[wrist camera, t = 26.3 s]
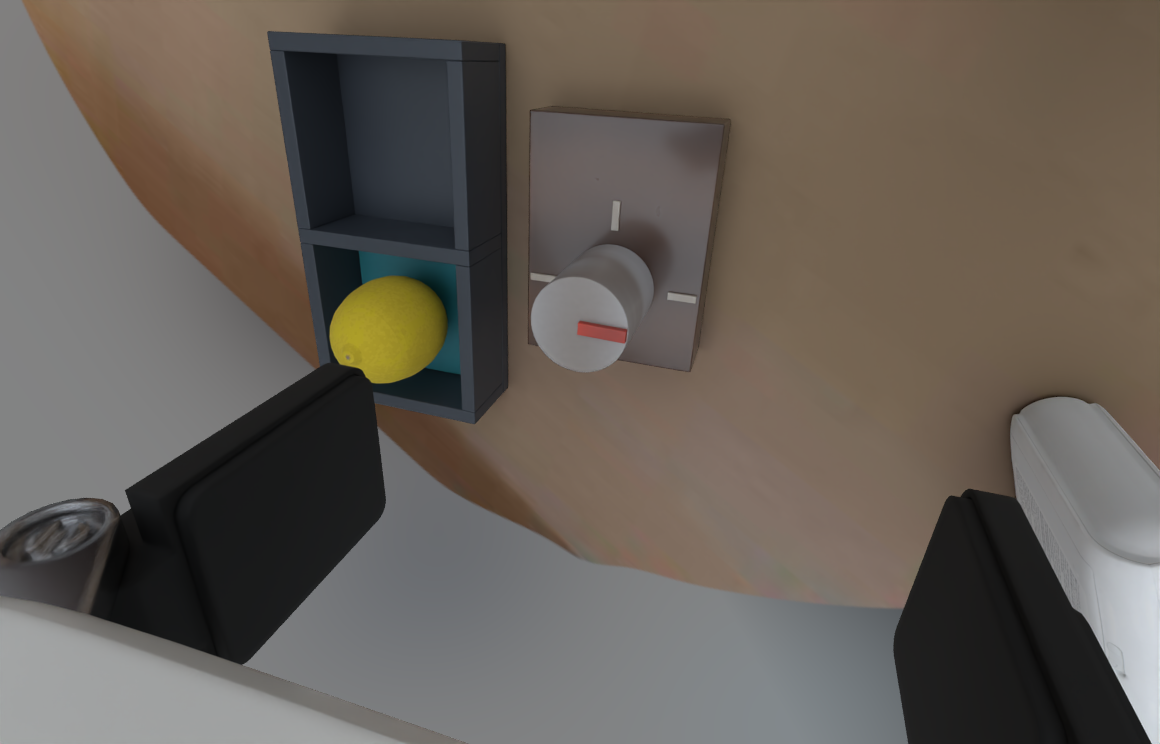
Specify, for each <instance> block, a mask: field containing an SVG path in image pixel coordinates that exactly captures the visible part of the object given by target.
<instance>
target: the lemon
mask: <svg viewBox="0 0 1160 744" xmlns="http://www.w3.org/2000/svg"><path fill="white" fill-rule="evenodd" d="M447 328H448V319H447V314H446V310H445V308H444V305H443V303H442V301H441V300H440V298H439V297H438V295H437V294H436V293H435V292H434V291H433V290H432V289H431V288H430V287H429V286H428V285H426V284H424V283H422V282H421V281H419V280H417V279H413V278H410V277H407V276H385V277H381V278H378V279H374V280H371V281H369V282H367V283H365V284H363V285H362V286H360V287H359V288H357V289H356V290H354V291H353V292H352V293H350V294H349V295H348V296H347V297H346V298H345V300H344V301H343V302H342V303H341V305H340V306H339V307H338V309H337V310H336V311H335V313H334V316H333V319H332V321H331V325H330V336H329V337H330V343H331V348H332V351H333V353H334V356H335V357H336V359H337V360H338V362H339V363H340V364H341V365H346V366H351V367H356V368H359V369H361V370H362V371H363V372H364V374H365V376H366V378H368V379H369V380H370V381H371V383H392V382H396V381H399V380H402V379H405V378H408V377H410V376H412V375H414V374H416V373H418V372H419V371H421V370H422V369H423V368H425V367H426V366H427V365H429V364H430V363H431V362H432V361H433V360H434V359H435V357H436V356H437V354H438V353H439V351H440V350H441V348H442V347H443V345H444V342H445V338H446V335H447Z"/></svg>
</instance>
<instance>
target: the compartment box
mask: <svg viewBox="0 0 1160 744" xmlns="http://www.w3.org/2000/svg"><path fill="white" fill-rule="evenodd" d="M267 34H268V40H269V47H270V50H271V51H270V53H271V60H272V66H273V72H274V79H275V85H276V91H277V98H278V104H279V110H280V117H281V123H282V129H283V136H284V142H285V148H286V154H287V161H288V167H289V173H290V180H291V186H292V192H293V199H294V205H295V211H296V218H297V224H298V230H299V236H300V242H302V243H301V249H302V255H303V261H304V268H305V274H306V280H307V287H308V293H309V299H310V306H311V312H312V318H313V325H314V331H315V337H316V344H317V350H318V356H319V363H320V367H321V366H322V365H324V364H327V363H336V364H340V363H339V362H338V360H337V359H336V357H335V356H334V353H333V351H332V348H331V343H330V337H329V336H330V325H331V321H332V319H333V316H334V313H335V311H336V310H337V309H338V307H339V306H340V305H341V303H342V302H343V301H344V300H345V298H346V297H347V296H348V295H349V294H350V293H352V292H353V291H354V290H356V289H357V288H359V287H360V286H362V285H363V284H365V283H367V282H369V281H371V280H374V279H378V278H381V277H385V276H407V277H410V278H413V279H417V280H419V281H421V282H422V283H424V284H426V285H428V286H429V287H430V288H431V289H432V290H433V291H434V292H435V293H436V294H437V295H438V297H439V298H440V300H441V301H442V303H443V305H444V308H445V310H446V314H447V319H448V328H447V335H446V338H445V342H444V345H443V347H442V348H441V350H440V351H439V353H438V354H437V356H436V357H435V359H434V360H433V361H432V362H431V363H430V364H429V365H427V366H426V367H425V368H423V369H422V370H421V371H419V372H418V373H416V374H414V375H412V376H410V377H408V378H405V379H402V380H399V381H396V382H392V383H372V387H373V395H374V403H377V404H382V405H386V406H391V407H396V408H401V409H405V410H410V411H415V412H420V413H424V414H429V415H434V416H438V417H443V418H448V419H453V420H457V421H462V422H467V423H471V424H476V422H477V421H478V420H479V419H480V418H481V417H482V416H483V415H484V414H485V412H486V411H487V410H488V409H489V408H490V407H491V406H492V405H493V403H494V402H495V401H496V400H497V399H498V398H499V397H500V396H501V395H502V393H503V392H504V391H505V390H506V389H507V388H508V335H507V201H506V68H505V44H503V43H490V42H476V41H463V40H443V39H422V38H401V37H380V36H359V35H338V34H316V33H295V32H274V31H268V32H267Z"/></svg>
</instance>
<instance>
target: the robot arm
mask: <svg viewBox="0 0 1160 744" xmlns="http://www.w3.org/2000/svg"><path fill="white" fill-rule="evenodd" d="M125 492H126V495H127V498H128V500H129V503H130V506H131V509H130V510H128V511H127V512H125V513H124V514H122V515H121V516H120V513H119V511H118V509H117V508H116V507H115V505H114V504H113V503H111V502H108V501H106V500H103V499H95V498H80V499H70V500H66V501H62V502H57V503H53V504H50V505H47V506H44V507H41V508H39V509H36V510H34V511H31V512H29V513H27V514H25V515H23V516H21V517H19V518H17V519H15V520H14V521H12V522H11V523H9V524H8V525H6V526H5V527H4V528H2V529H1V530H0V744H468V743H465V742H462V741H459V740H456V739H454V738H451V737H448V736H445V735H442V734H439V733H436V732H434V731H431V730H428V729H425V728H422V727H419V726H416V725H414V724H411V723H408V722H405V721H402V720H399V719H396V718H393V717H390V716H388V715H385V714H382V713H379V712H376V711H373V710H370V709H368V708H365V707H362V706H359V705H356V704H353V703H350V702H347V701H345V700H342V699H339V698H336V697H333V696H330V695H328V694H325V693H322V692H319V691H316V690H313V689H310V688H307V687H304V686H301V685H298V684H295V683H292V682H290V681H286V680H284V679H281V678H278V677H275V676H272V675H269V674H266V673H263V672H260V671H258V670H255V669H252V668H249V667H246V666H243V665H242V664H244V663H246V662H247V661H248V660H249V659H251V657H253V655H254V654H255V653H256V652H257V651H258V650H259V649H260V648H261V647H262V646H263V645H264V644H265V642H266V641H267V640H268V639H269V638H270V637H271V636H272V635H273V634H274V632H276V630H277V629H278V628H279V627H280V626H281V625H282V624H283V623H284V622H285V621H286V620H287V619H288V617H289V616H290V615H291V614H292V613H293V612H294V611H295V610H296V609H297V608H298V607H299V605H300V604H301V603H302V602H303V601H304V600H305V599H306V598H307V597H308V596H309V595H310V593H311V592H312V591H313V590H314V589H315V588H316V587H317V586H318V585H319V584H320V583H321V582H322V581H323V579H324V578H325V577H326V576H327V575H328V574H329V573H330V572H331V571H332V570H333V569H334V567H335V566H336V565H337V564H338V563H339V562H340V561H341V560H342V559H343V558H344V557H345V556H346V554H347V553H348V552H349V551H350V550H351V549H352V548H353V547H354V546H355V545H356V544H357V543H358V541H359V540H360V539H361V538H362V537H363V536H364V535H365V534H366V533H367V532H368V531H369V529H370V528H371V527H372V526H373V525H374V524H375V523H376V522H377V521H378V520H379V518H380V517H381V515H382V513H383V511H384V508H385V503H386V496H385V489H384V480H383V471H382V463H381V454H380V446H379V437H378V429H377V420H376V412H375V403H374V395H373V387H372V383H371V381H370V380H369V379H368V378H366V376H365V374H364V372H363V371H362V370H361V369H359V368H356V367H351V366H346V365H341V364H336V363H327V364H324V365H322V366H321V367H319V368H318V369H316V370H314V371H313V372H311V373H310V374H308V375H307V376H305V377H303V378H302V379H300V380H299V381H297V382H295V383H294V384H293V385H291V386H289V387H288V388H286V389H284V390H283V391H281V392H280V393H278V394H277V395H275V396H273V397H272V398H270V399H269V400H267V401H266V402H264V403H262V404H261V405H259V406H258V407H256V408H254V409H253V410H252V411H250V412H248V413H247V414H245V415H243V416H242V417H240V418H239V419H237V420H235V421H234V422H232V423H231V424H229V425H228V426H226V427H224V428H223V429H221V430H220V431H218V432H216V433H215V434H213V435H212V436H210V437H209V438H207V439H205V440H204V441H202V442H201V443H199V444H198V445H196V446H194V447H193V448H191V449H190V450H188V451H186V452H185V453H184V454H182V455H180V456H179V457H177V458H175V459H174V460H172V461H171V462H169V463H167V464H166V465H164V466H163V467H161V468H160V469H158V470H157V471H155V472H153V473H152V474H150V475H148V476H147V477H146V478H144V479H142V480H141V481H139V482H137V483H136V484H134V485H133V486H131V487H130V488H128V489H126V490H125ZM894 659H895V665H896V671H897V677H898V683H899V689H900V695H901V701H902V708H903V714H904V720H905V726H906V731H907V738H908V744H1152V743H1151V741H1150V739H1149V737H1148V735H1147V734H1146V732H1145V730H1144V728H1143V726H1142V724H1141V722H1140V720H1139V718H1138V716H1137V714H1136V713H1135V711H1134V709H1133V707H1132V705H1131V703H1130V701H1129V699H1128V697H1127V695H1126V693H1125V691H1124V690H1123V688H1122V686H1121V684H1120V682H1119V680H1118V678H1117V676H1116V674H1115V672H1114V670H1113V669H1112V667H1111V665H1110V663H1109V661H1108V659H1107V657H1106V655H1105V653H1104V651H1103V649H1102V647H1101V646H1100V644H1099V642H1098V640H1097V638H1096V636H1095V634H1094V632H1093V630H1092V628H1091V626H1090V625H1089V623H1088V622H1087V620H1086V619H1085V617H1084V616H1083V615H1082V613H1080V612H1079V611H1077V610H1075V609H1074V608H1073V607H1072V605H1071V603H1070V601H1069V599H1068V597H1067V596H1066V594H1065V592H1064V590H1063V588H1062V586H1061V584H1060V582H1059V580H1058V578H1057V576H1056V574H1055V572H1054V570H1053V568H1052V566H1051V564H1050V562H1049V560H1048V558H1047V556H1046V554H1045V552H1044V550H1043V548H1042V546H1041V544H1040V542H1039V540H1038V538H1037V536H1036V535H1035V533H1034V531H1033V529H1032V527H1031V525H1030V523H1029V521H1028V519H1027V517H1026V515H1025V513H1024V511H1023V509H1022V507H1021V505H1020V503H1019V502H1018V500H1017V499H1016V498H1013V497H1009V496H1004V495H999V494H994V493H989V492H984V491H979V490H973V489H968V490H965V492H964V493H963V494H962V496H961V497H956V496H949V497H948V498H947V500H946V502H945V504H944V506H943V509H942V511H941V514H940V516H939V519H938V522H937V524H936V527H935V529H934V532H933V535H932V537H931V540H930V542H929V545H928V547H927V550H926V553H925V555H924V558H923V560H922V563H921V566H920V568H919V571H918V573H917V576H916V579H915V581H914V584H913V586H912V589H911V591H910V594H909V597H908V599H907V602H906V604H905V607H904V610H903V612H902V615H901V618H900V620H899V623H898V625H897V628H896V631H895V636H894Z"/></svg>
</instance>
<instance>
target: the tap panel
mask: <svg viewBox="0 0 1160 744" xmlns="http://www.w3.org/2000/svg"><path fill="white" fill-rule="evenodd" d="M730 124H731V120H730V119H721V118H707V117H693V116H680V115H666V114H652V113H639V112H625V111H611V110H598V109H584V108H570V107H556V106H550V107H544V108H538V109H532V110H530V168H529V284H528V344H529V345H535V346H539V345H538V343H537V342H536V339H535V337H534V334H533V331H532V326H531V311H532V307H533V304H534V301H535V299H536V297H537V295H538V294H539V293H540V291H541V290H542V289H543V288H544V287H545V286H546V285H548V284H549V283H550V282H551V281H552V280H553V279H554V278H555V277H557V276H558V275H559V274H560V273H561V272H562V271H563V270H565V269H566V268H567V267H568V266H569V265H570V264H571V263H573V262H574V261H575V260H576V259H577V258H578V257H579V256H581V255H582V254H583V253H584V252H585V251H587V250H589V249H591V248H593V247H595V246H599V245H605V244H611V245H618V246H622V247H625V248H627V249H629V250H631V251H632V252H634V253H635V254H637V255H638V256H639V257H640V258H641V259H642V260H643V261H644V262H645V264H646V265H647V267H648V269H649V271H650V273H651V276H652V279H653V284H654V295H653V300H652V303H651V306H650V308H649V310H648V311H647V313H646V315H645V316H644V318H643V320H642V321H641V323H640V325H639V326H638V328H637V329H636V331H635V333H634V334H633V336H632V338H631V339H630V341H629V343H628V344H627V346H626V348H625V349H624V351H623V352H622V354H621V355H620V357H619V358H618V359H617V360H622V361H627V362H633V363H639V364H645V365H650V366H656V367H662V368H668V369H674V370H679V371H685V372H690V371H691V369H692V366H693V363H694V360H695V357H696V354H697V351H698V347H699V340H700V333H701V326H702V319H703V312H704V305H705V298H706V291H707V284H708V277H709V270H710V263H711V256H712V250H713V243H714V236H715V229H716V222H717V215H718V208H719V201H720V194H721V187H722V180H723V173H724V166H725V159H726V152H727V145H728V138H729V131H730Z"/></svg>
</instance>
